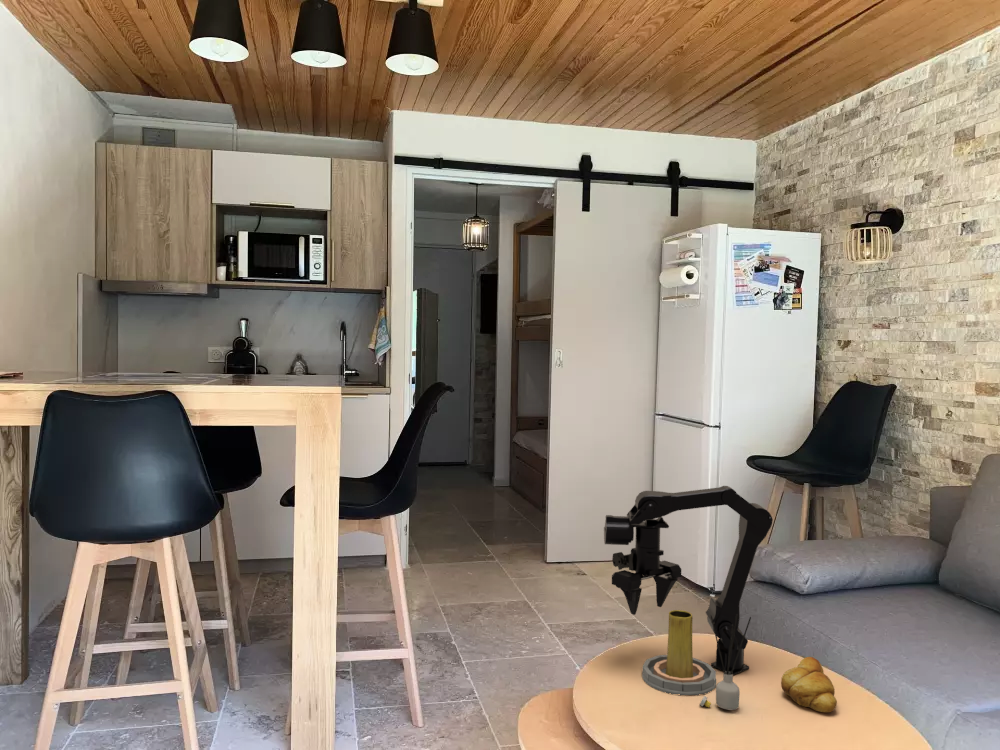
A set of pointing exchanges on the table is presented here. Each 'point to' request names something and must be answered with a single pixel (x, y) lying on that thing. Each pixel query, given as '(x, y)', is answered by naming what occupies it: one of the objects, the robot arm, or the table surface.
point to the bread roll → (810, 686)
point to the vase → (680, 645)
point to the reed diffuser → (727, 680)
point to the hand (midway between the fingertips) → (646, 610)
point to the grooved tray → (679, 685)
